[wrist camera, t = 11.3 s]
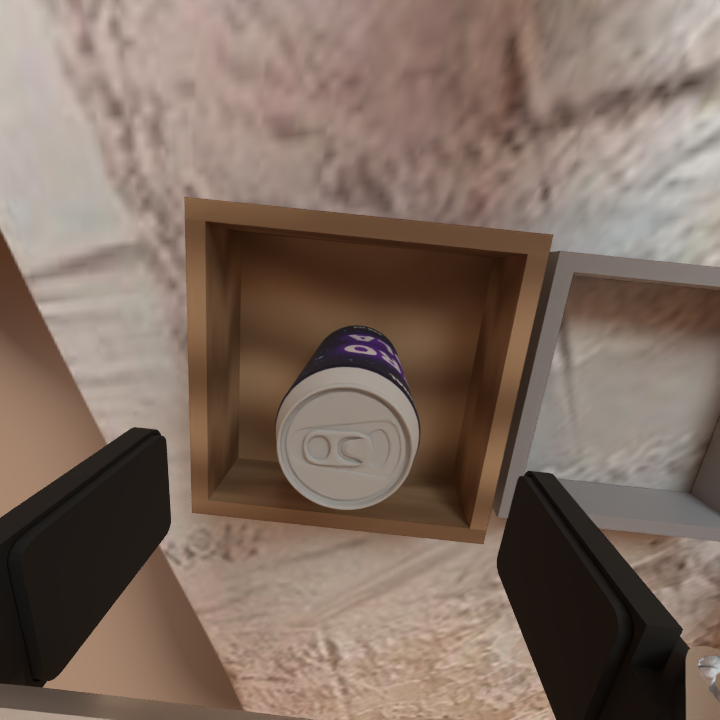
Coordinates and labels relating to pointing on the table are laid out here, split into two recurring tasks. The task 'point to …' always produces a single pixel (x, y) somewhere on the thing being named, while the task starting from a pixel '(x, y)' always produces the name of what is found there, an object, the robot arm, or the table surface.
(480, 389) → the bin
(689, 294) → the table surface
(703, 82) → the table surface
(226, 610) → the table surface
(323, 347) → the beverage can
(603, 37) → the table surface
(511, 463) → the bin
